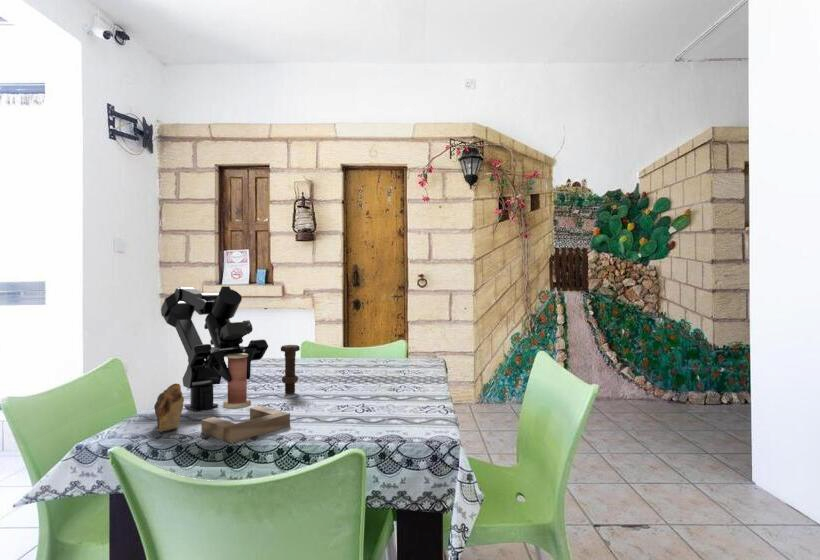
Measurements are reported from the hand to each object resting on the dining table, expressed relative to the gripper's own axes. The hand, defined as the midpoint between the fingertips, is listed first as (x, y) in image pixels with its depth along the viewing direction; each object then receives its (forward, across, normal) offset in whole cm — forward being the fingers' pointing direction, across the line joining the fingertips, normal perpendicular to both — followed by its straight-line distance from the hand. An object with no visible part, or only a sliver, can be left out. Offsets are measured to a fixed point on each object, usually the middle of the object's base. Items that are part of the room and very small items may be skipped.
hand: (239, 379), depth 116 cm
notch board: (+11, 0, +5) cm, 12 cm away
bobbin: (+4, 0, +6) cm, 7 cm away
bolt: (-7, +26, +24) cm, 36 cm away
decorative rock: (+2, -13, +15) cm, 20 cm away
